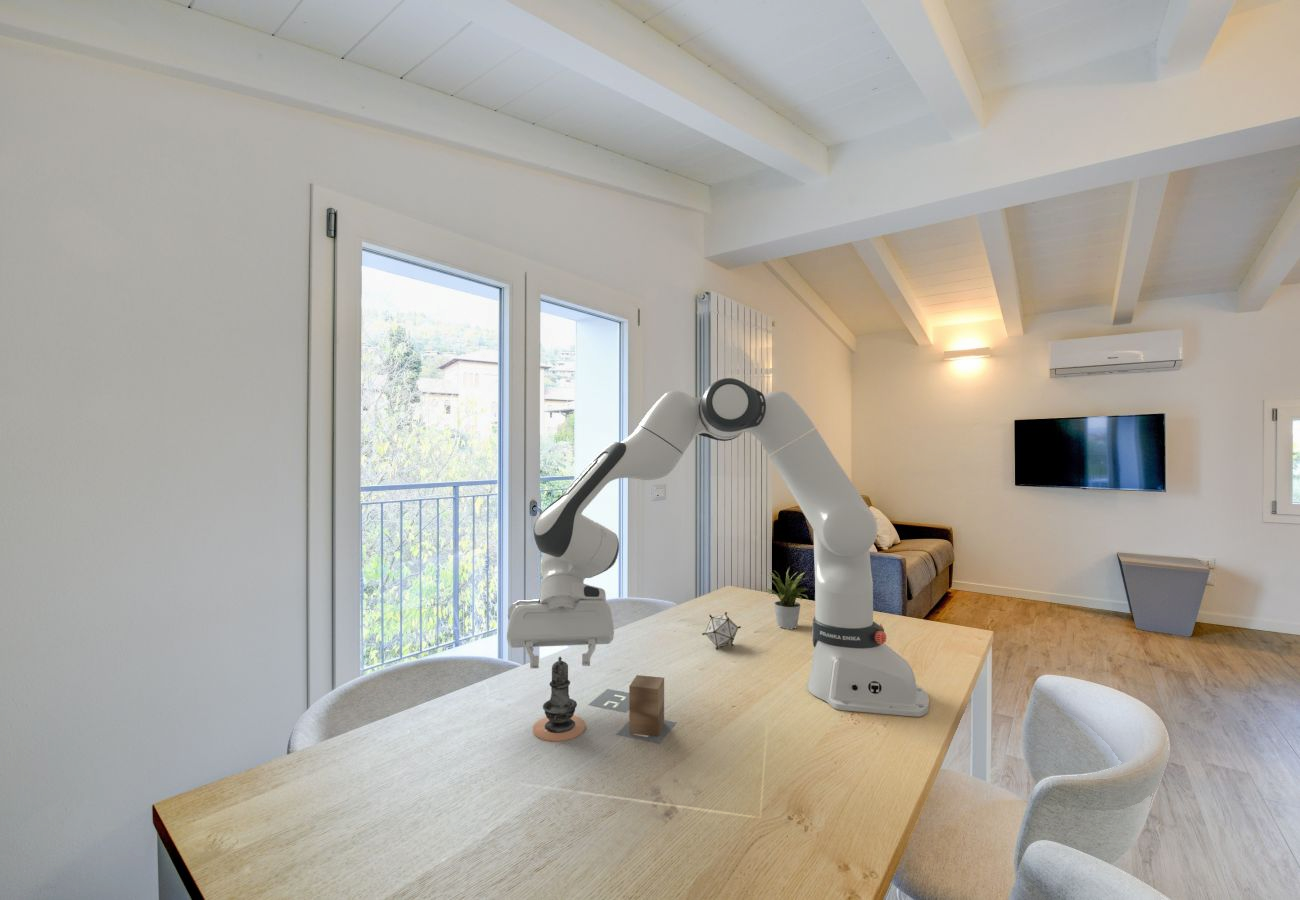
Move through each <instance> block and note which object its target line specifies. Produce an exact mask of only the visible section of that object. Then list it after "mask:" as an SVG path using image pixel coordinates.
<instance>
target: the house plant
mask: <svg viewBox="0 0 1300 900" xmlns="http://www.w3.org/2000/svg"><path fill="white" fill-rule="evenodd" d="M790 567H791V566H789V567H788V568H787V570H786V572H785V575H786V576H785V585H784V583H783V581H782V579H781V576H780V575H779V573H778V572H777V571H776V570H772V571H774V573H773V572H772V571H770V573H769V574H770V575H771V576H772V577H771V576H770V575H768V576H769V577H770V579H771V582H772V583H773V585H774V586H775V588H776V590H777V592H778V593H777V592H776V591H775V590H774V589H770V588H768V589H766V590H765V592H769V593H767V594H768V595H769V594H771V595H772V594H773V595H776V596H777V597H778V599H779V600H777V601H775V602H774V604H773V605H774V609H775V617H776V623H777V627H778V626H780V627H783V628H795V627H797V628H798V622H799V615H800V609H801V603H799V602H797V601H796V600H797V598H798V599H800V600H801V601H802V600H803V597H805V598H806V599H807V600H809V597H808V595H807V594H805V593H802V592H804V591H809V588H806V587H799V588H797V587H798V586H799V583H800V582H801V580H802V581H803V580H805V579H809V578H810V577H806V578H803V579H802V577H803V575H805V573H806V571H805V572H802V573H800V574H799V575H797V577H796V578H795V579H794V580H792V578H793V577H794V576H795V575H796V574H797V572H795V573H794V574H793V575H792V576H791V578H790V576H789V571H790ZM760 573H762V574H763V572H761V571H760ZM775 573H776V574H777V576H778V577H777V576H776V574H775ZM772 578H773V579H772ZM800 595H801V596H800ZM802 596H803V597H802Z"/></svg>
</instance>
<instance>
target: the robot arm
mask: <svg viewBox="0 0 1300 900" xmlns="http://www.w3.org/2000/svg"><path fill="white" fill-rule="evenodd" d="M743 433H749V434H750V435H752V436H754V437H755V438H756V439H757V440H758V441H759V442H760V444H761V445H762V447H763V449H764V450H765V452H766V453H767V455H768V457H769V459H770V461H771V463H772V464H773V466H774V467H775V469H776V470H777V472H778V474H779V475H780V476H781V478H782V480H783V482H784V483H785V485H786V487H787V488H788V490H789V491H790V493H791V495H792V497H793V498H794V500H795V501H796V503H797V505H798V507H799V508H800V510H801V511H802V513H803V515H804V516H805V518H806V519H807V522H808V523H809V525H810V526H811V528H812V529H813V557H814V559H813V560H814V564H813V565H814V590H815V592H814V608H815V609H814V611H815V613H814V615H815V616H814V617H813V619H812V625H811V626H812V630H811V632H812V634H811V635H812V637H811V638H812V645H813V655H812V656H813V657H812V663H811V668H810V673H809V676H808V681H807V684H806V688H807V690H808V692H809V693H810V694H812V695H813V696H815V697H817V698H818V699H820V700H823V701H824V702H827V703H828V704H829V706H831V707H833V708H834V709H836V710H840V711H848V712H849V711H850V712H860V713H870V714H882V715H883V714H884V715H894V716H895V715H896V716H905V717H907V716H908V717H917V718H918V717H922V716H924V715H925V714H927V713H928V712H929V710H930V700H929V696H928V694H927V691H926V690H925V689H924V688H922V686H920V685H919V684H917V683H916V682H917V681H916V677H915V674H914V670H913V668H912V667H911V665H910V663H909V662H908V661H907V660H906V659H905V658H904V657H902V656H901V655H900V654H899V653H897V652H896V651H895V650H893V648H891V647H889V646H888V645H887V644H886V641H887V635H886V633H885V628H883V624H881V623H880V624H878V623H876V621H874V581H873V574H872V566H871V554H870V552H871V551H870V549H871V548H872V546H873V545H874V544H875V542H876V539H877V536H878V523H877V520H876V517H875V515H874V513H873V512H872V510H871V508H870V507H869V505H868V504H867V503H866V501H865V500H864V498H863V497H862V495H861V494H860V492H859V491H858V489H857V488H856V486H855V485H854V484H853V481H851V479H850V478H849V476H848V474H847V473H846V472H845V471H844V469H843V468H842V466H841V464H840V463H839V462H838V460H837V459H836V457H835V455H834V454H833V453H832V451H831V450H830V447H829V446H828V444H827V443H826V441H825V440H824V438H823V437H822V434H820V432H819V430H818V429H817V428H816V425H815V423H813V421H812V420H811V418H810V417H809V415H808V414H807V413H806V412H805V410H804V409H803V408H802V406H800V404H798V402H797V401H796V400H795V399H794V398H793V397H792V396H791V395H790V394H789V393H787V392H784V391H780V390H778V391H777V390H776V391H772V392H768V393H766V394H764V393H762V391H760V390H758V389H756V388H753V386H751V385H749V384H747V383H746V382H744V381H742V380H740V379H736V378H733V377H728V378H727V377H725V378H722V379H718V380H716V381H715V382H713V383H712V384H711V385H709V387H707V389H706V390H705V392H704V393H703V396H701V397H694V396H692V395H690V394H689V393H687V392H683V391H680V390H670V391H667V392H666V393H664V394H663V395H662V396H661V397H660V398H659V399H657V401H656V402H655V403H654V405H653V406H652V407H651V408H650V409H649V411H647V412H646V415H645V416H644V417H643V418H642V420H641V421H640V423H639V424H638V426H637V427H636V428H635V430H634V431H633V432H632V433H631V434H630V435H629V436H628V437H626V438H625V439H624V440H622V441H620V442H619V441H618V442H617V441H616V442H612V443H609V445H606V447H605V448H603V449H602V451H600V452H599V453H598V454H597V455H596V456H595V458H593V460H591V462H590V463H589V464H588V465H587V466H586V467H585V468H584V470H582V472H581V473H580V474H579V475H578V476H577V477H576V478H575V479H574V481H573V482H572V483H570V485H569V486H568V487H567V488H566V489H565V490H564V491H563V493H561V495H560V496H559V497H558V498H557V499H555V500H554V501H553V502H552V503H551V504H549V505H548V506H547V507H546V508H545V509H544V510H542V512H541V513H539V515H538V516H537V519H536V520H535V522H534V525H533V529H532V530H533V537H534V541H535V544H536V546H537V548H538V551H540V552H541V553H542V555H541V557H542V558H541V568H540V570H541V573H542V578H541V579H542V580H540V581H541V582H540V585H539V587H540V588H539V590H540V592H539V599H530V600H529V599H528V600H522V599H521V600H517V601H516V602H513V603H512V604H511V605H509V607H508V612H507V620H509V622H508V625H507V632H506V641H507V644H508V646H510V647H511V648H515V649H518V648H525V653H526V655H527V657H528V658H529V661H530V662H529V663H530V666H529V667H530V669H532V670H533V669H539V667H540V666H539V664H540V657H539V655H535V654H534V648H538V647H539V648H540V647H541V648H544V647H563V646H564V647H565V646H586V645H587V647H588V650H587V652H585V653H582V654H581V655H582V656H581V666H582V667H590V666H591V657H592V656H593V654H594V653H595V651H596V649H597V648H596V646H597V645H609V644H611V643H612V642H613V640H614V638H615V630H614V619H613V613H612V610H611V607H610V605H609V604H608V603H607V597H606V595H607V594H606V590H605V589H604V588H602V587H597V586H593V585H589V584H587V583H584V581H585V579H591V578H593V577H596V576H598V575H600V574H602V573H604V572H606V571H609V569H611V568H612V567H613V566H614V565H615V563H616V562H617V559H618V555H619V551H620V542H619V537H618V535H617V534H616V533H615V532H614V531H612V530H611V529H609V528H608V527H606V526H605V525H602V524H601V523H599V522H597V521H594V520H593V519H591V518H589V517H588V516H586V515H584V514H583V511H584V510H585V509H586V508H587V507H588V506H589V505H590V504H591V502H593V500H594V499H595V498H596V497H597V496H598V495H599V493H600V492H601V491H602V490H603V489H604V488H605V486H607V485H608V484H609V483H611V482H612V481H614V480H617V479H636V480H641V481H653V480H654V481H655V480H659V479H662V478H665V477H666V476H668V475H669V474H670V473H671V472H672V471H673V470H674V469H675V467H676V466H677V465H678V463H679V462H680V460H681V459H682V457H683V455H684V454H685V452H686V451H687V448H688V447H689V446H690V445H691V443H692V441H693V440H694V439H695V438H696V437H697V436H702V437H704V438H708V439H712V440H715V441H720V442H721V441H722V442H728V441H732V440H735V439H736V438H738V437H740V436H741V435H742V434H743Z"/></svg>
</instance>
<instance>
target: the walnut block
mask: <svg viewBox="0 0 1300 900" xmlns="http://www.w3.org/2000/svg"><path fill="white" fill-rule="evenodd" d="M628 689H629V690H628V693H629V710H628V713H629V714H628V715H629V716H628V717H629V718H628V719H629V721H628V722H629V733H631V734H640V735H648V736H657V737H658V736H659V733H660V731H661V729H662V727H663V725H664V720H665V677H664V676H663V677H662V676H650V675H639V674H637V675H635V677H634V679H633V680H632V681H631V683H630V684H629V688H628Z"/></svg>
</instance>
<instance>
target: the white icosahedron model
mask: <svg viewBox="0 0 1300 900" xmlns="http://www.w3.org/2000/svg"><path fill="white" fill-rule="evenodd" d="M709 618H710V619H709V623H708V625H707V627H706V630H705V632H702V633H701V635H702V636H705V635H706V636H707V638H708V639H709V640H710V641H711V642H712V643H713V644H714V645H715V646H716V647H715V650H716V649H717V650H719V647H723V646H729V645H731V647H733V646H734V647H735V644H733V643H734V640H735V637H736V635H737V632H738V629H741V628H742V626H740V625H739V626H738V625H737V624H736V623H734V622H733V620H732V619H731V618H730V617H729V616H728V612H727V611H726V612H724V614H723V615H722V614H721V615H715V616H712V615H711V614H709Z"/></svg>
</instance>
